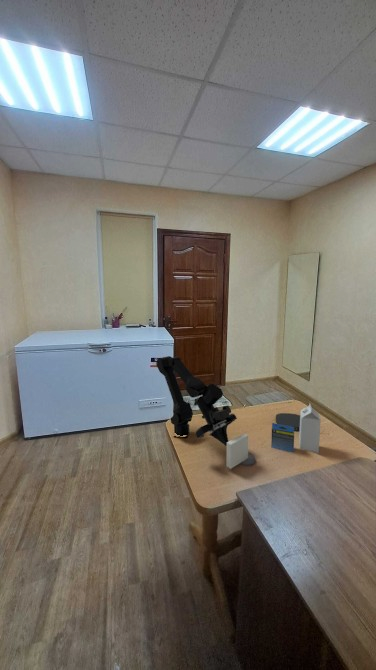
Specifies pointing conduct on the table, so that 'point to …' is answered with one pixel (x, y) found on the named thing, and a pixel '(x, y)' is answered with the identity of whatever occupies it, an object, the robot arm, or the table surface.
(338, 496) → the table surface
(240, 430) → the table surface
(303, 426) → the milk carton
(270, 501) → the table surface
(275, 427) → the label tape cartridge
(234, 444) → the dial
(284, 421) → the media streaming box
